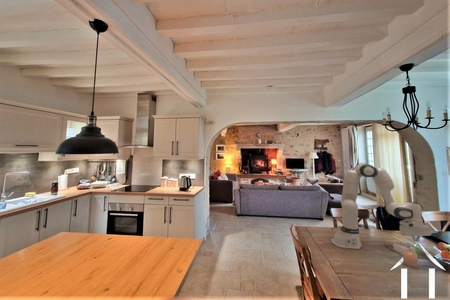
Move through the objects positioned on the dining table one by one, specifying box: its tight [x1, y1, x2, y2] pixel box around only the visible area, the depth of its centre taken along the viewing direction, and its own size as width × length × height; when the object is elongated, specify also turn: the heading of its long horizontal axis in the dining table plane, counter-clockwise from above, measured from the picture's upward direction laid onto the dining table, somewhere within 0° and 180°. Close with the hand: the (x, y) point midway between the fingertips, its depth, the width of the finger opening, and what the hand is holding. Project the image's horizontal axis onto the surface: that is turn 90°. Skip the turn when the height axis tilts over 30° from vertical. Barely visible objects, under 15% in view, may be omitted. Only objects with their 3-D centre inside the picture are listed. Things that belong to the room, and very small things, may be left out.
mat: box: [386, 246, 425, 259], centre depth 136 cm, size 13×16×1 cm
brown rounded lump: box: [402, 250, 419, 269], centre depth 121 cm, size 7×7×8 cm
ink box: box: [392, 242, 420, 255], centre depth 136 cm, size 9×5×12 cm
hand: (416, 241), depth 136 cm, fingers closed
